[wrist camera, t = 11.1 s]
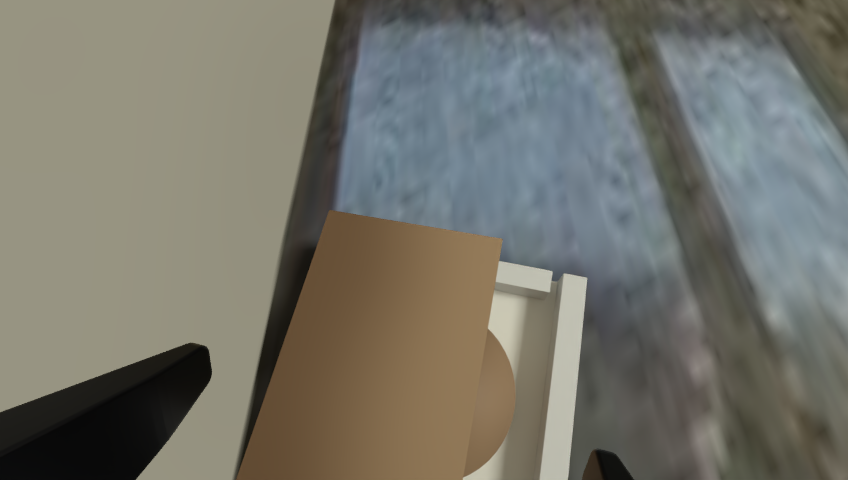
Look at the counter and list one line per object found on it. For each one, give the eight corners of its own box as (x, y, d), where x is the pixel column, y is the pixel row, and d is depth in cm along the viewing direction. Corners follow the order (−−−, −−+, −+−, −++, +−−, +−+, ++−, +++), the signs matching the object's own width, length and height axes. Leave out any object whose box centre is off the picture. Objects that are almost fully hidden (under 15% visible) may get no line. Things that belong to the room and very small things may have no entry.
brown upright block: (522, 327, 19) (609, 205, 7) (499, 499, 16) (577, 713, 5) (378, 298, 20) (265, 155, 9) (336, 454, 17) (98, 540, 6)
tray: (541, 580, 16) (555, 611, 14) (270, 492, 18) (240, 505, 16) (572, 292, 20) (587, 277, 18) (349, 248, 22) (335, 230, 20)
